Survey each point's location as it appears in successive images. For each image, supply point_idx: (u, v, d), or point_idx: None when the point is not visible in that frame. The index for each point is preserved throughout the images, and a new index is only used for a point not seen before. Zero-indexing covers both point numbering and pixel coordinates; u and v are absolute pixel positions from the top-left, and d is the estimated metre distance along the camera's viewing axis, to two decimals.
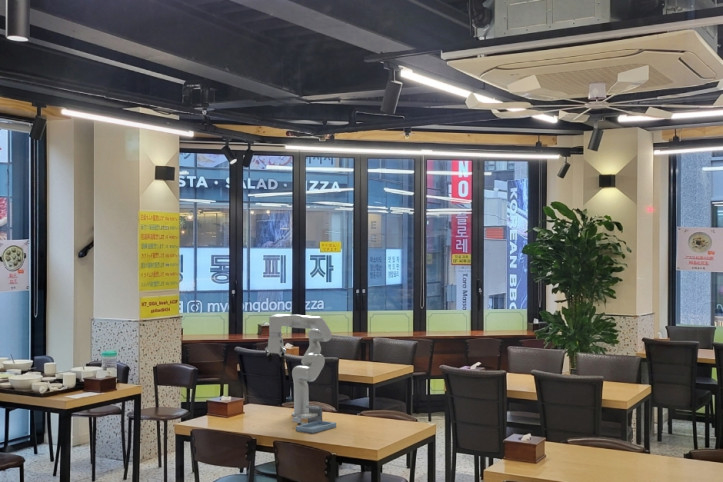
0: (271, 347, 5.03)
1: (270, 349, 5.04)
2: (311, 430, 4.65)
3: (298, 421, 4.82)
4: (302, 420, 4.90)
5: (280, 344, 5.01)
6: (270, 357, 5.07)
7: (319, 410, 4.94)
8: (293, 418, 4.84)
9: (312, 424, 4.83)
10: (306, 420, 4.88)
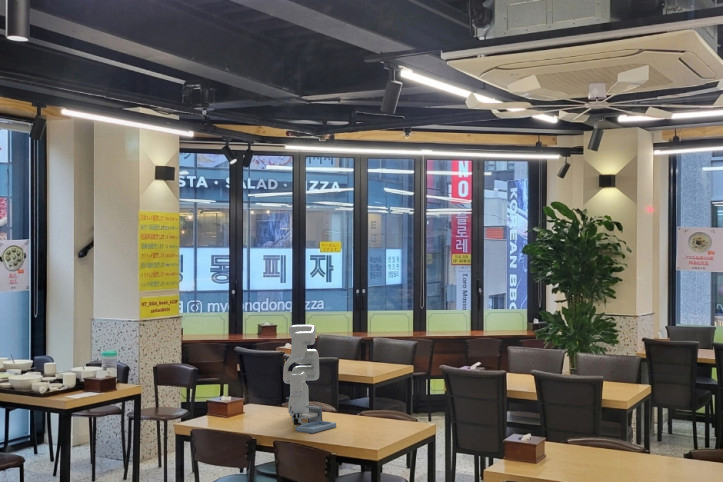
0: (298, 407, 4.81)
1: (297, 409, 4.80)
2: (311, 430, 4.65)
3: (298, 421, 4.82)
4: (302, 420, 4.90)
5: None
6: None
7: (319, 410, 4.94)
8: (293, 418, 4.84)
9: (312, 424, 4.83)
10: (306, 420, 4.88)
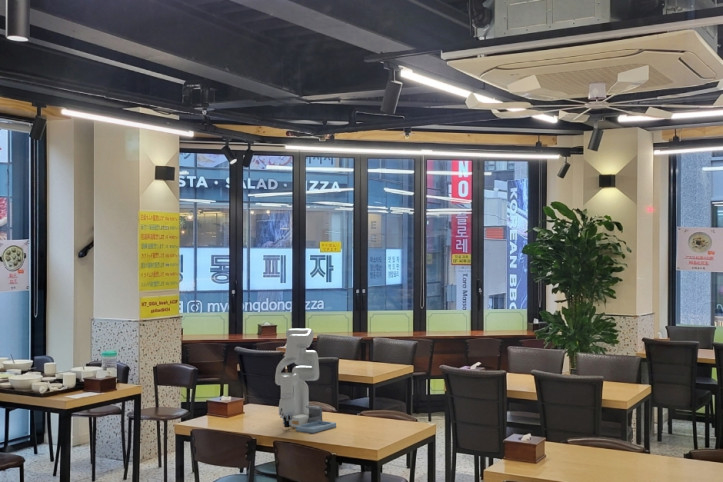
0: (288, 409, 4.74)
1: (287, 412, 4.74)
2: (311, 430, 4.65)
3: None
4: (293, 422, 4.83)
5: None
6: None
7: (319, 410, 4.94)
8: None
9: (312, 424, 4.83)
10: (297, 422, 4.81)
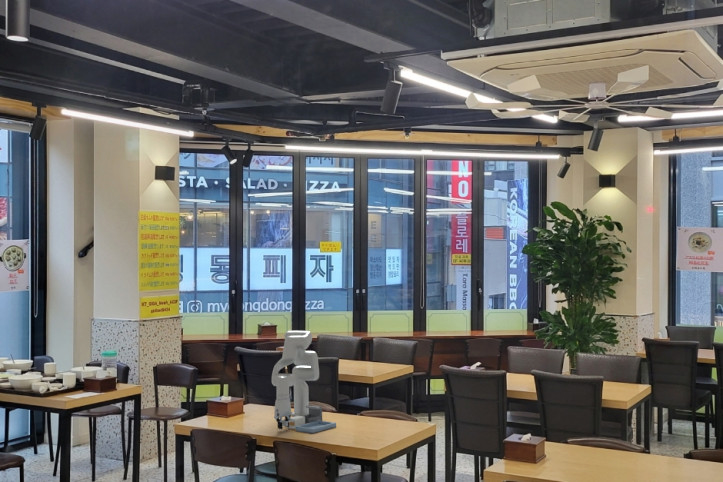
0: (284, 410, 4.71)
1: (283, 413, 4.71)
2: (311, 430, 4.65)
3: (284, 425, 4.73)
4: (289, 423, 4.80)
5: None
6: None
7: (319, 410, 4.94)
8: None
9: (312, 424, 4.83)
10: (293, 423, 4.78)
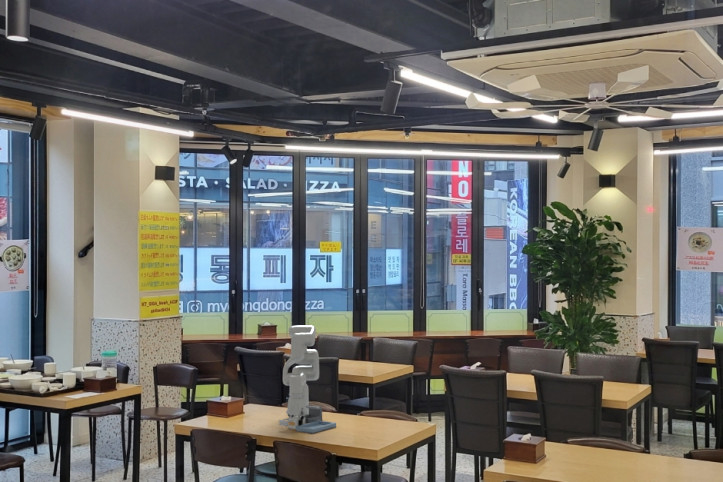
0: None
1: None
2: (311, 430, 4.65)
3: (284, 424, 4.73)
4: (289, 423, 4.80)
5: None
6: None
7: (319, 410, 4.94)
8: (280, 421, 4.75)
9: (312, 424, 4.83)
10: (293, 423, 4.78)
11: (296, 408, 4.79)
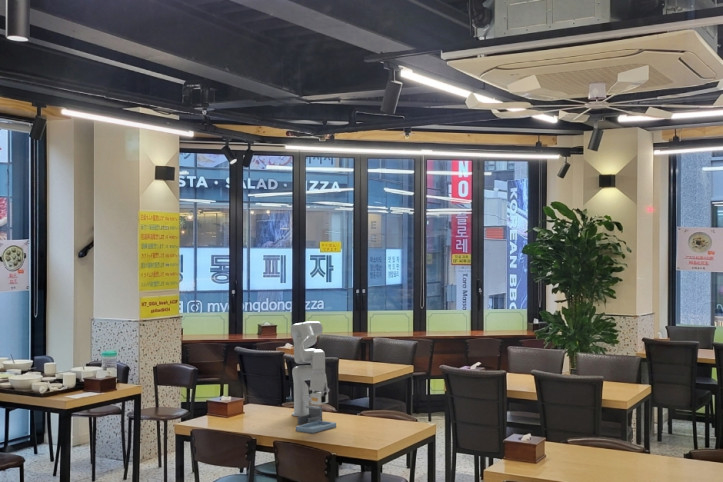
0: None
1: None
2: (311, 430, 4.65)
3: (308, 400, 4.71)
4: (312, 399, 4.78)
5: None
6: None
7: (319, 410, 4.94)
8: (303, 396, 4.73)
9: (312, 424, 4.83)
10: (316, 399, 4.76)
11: (319, 384, 4.77)
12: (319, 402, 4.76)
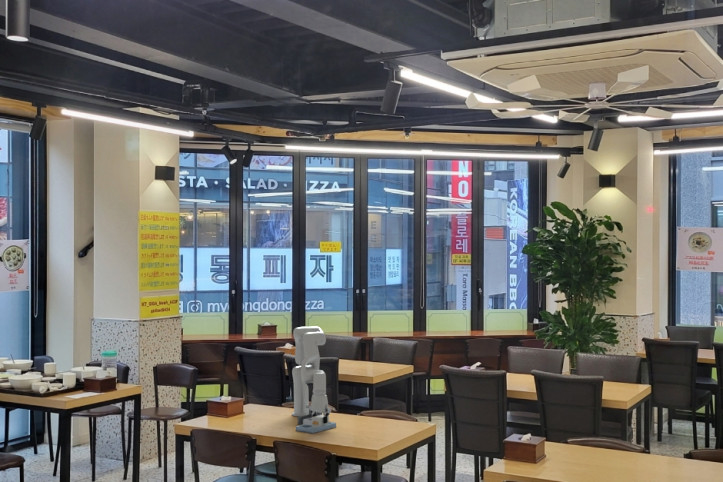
0: None
1: None
2: (311, 430, 4.65)
3: (309, 424, 4.70)
4: (313, 423, 4.78)
5: None
6: None
7: None
8: (304, 420, 4.72)
9: None
10: (317, 423, 4.76)
11: (320, 405, 4.77)
12: None
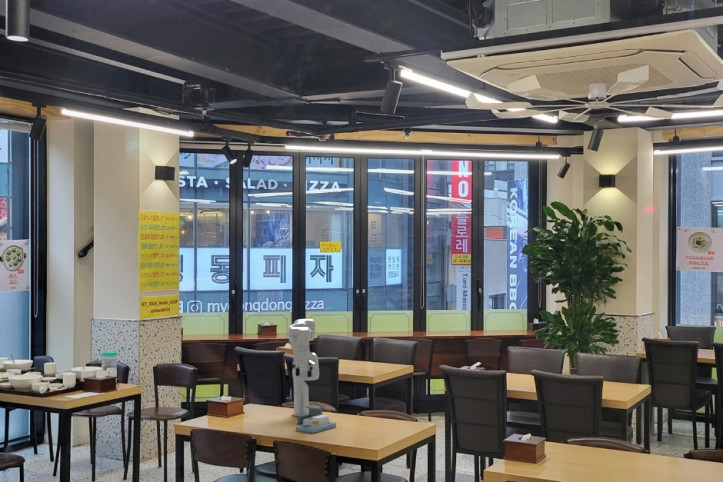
0: None
1: None
2: (311, 430, 4.65)
3: (309, 424, 4.70)
4: (313, 423, 4.78)
5: None
6: None
7: (319, 410, 4.94)
8: (304, 420, 4.72)
9: None
10: (317, 423, 4.76)
11: (303, 360, 4.95)
12: None
